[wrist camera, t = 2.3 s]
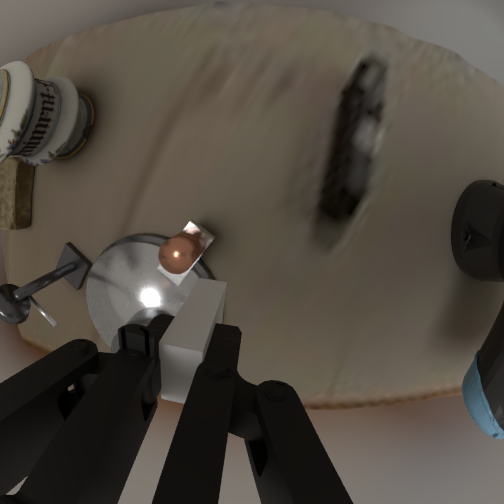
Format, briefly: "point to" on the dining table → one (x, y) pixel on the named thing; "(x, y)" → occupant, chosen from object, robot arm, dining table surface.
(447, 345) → the dining table surface
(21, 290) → the dial gauge stand
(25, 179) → the stone block
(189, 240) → the turntable
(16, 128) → the apothecary jar
